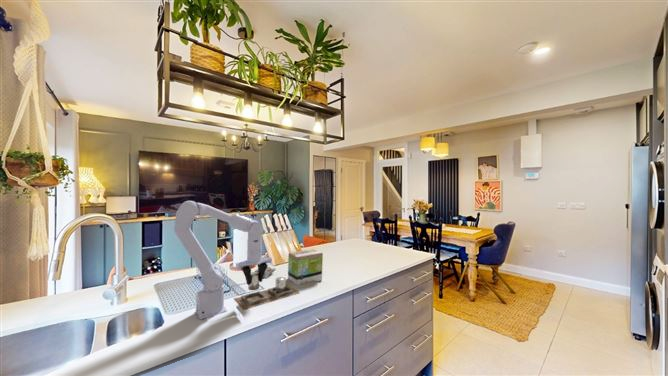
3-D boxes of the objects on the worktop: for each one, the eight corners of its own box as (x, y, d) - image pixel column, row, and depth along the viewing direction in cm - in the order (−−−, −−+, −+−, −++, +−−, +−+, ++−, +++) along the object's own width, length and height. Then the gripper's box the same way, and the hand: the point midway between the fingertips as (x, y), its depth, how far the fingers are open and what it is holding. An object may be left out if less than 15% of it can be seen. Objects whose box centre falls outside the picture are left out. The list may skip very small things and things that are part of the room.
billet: (278, 295, 110) (278, 281, 110) (273, 291, 113) (273, 278, 113) (287, 292, 113) (287, 279, 113) (282, 289, 116) (282, 276, 116)
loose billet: (249, 291, 103) (249, 276, 103) (247, 287, 107) (246, 273, 107) (260, 288, 105) (260, 274, 105) (257, 285, 109) (257, 271, 109)
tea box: (297, 287, 122) (297, 257, 122) (287, 281, 130) (287, 252, 129) (322, 280, 131) (323, 252, 131) (311, 275, 139) (312, 248, 139)
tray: (238, 298, 109) (238, 295, 109) (229, 289, 119) (229, 286, 119) (264, 291, 117) (264, 288, 117) (254, 283, 126) (254, 280, 126)
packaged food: (275, 273, 141) (275, 264, 141) (267, 281, 129) (267, 272, 129) (260, 273, 142) (260, 264, 142) (251, 281, 131) (250, 271, 130)
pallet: (243, 313, 97) (243, 306, 97) (233, 302, 106) (233, 295, 106) (300, 296, 112) (300, 290, 112) (287, 287, 122) (287, 282, 122)
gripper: (240, 255, 98) (239, 290, 98) (275, 249, 107) (274, 281, 107) (234, 251, 103) (234, 284, 103) (267, 246, 112) (267, 276, 112)
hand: (254, 282), depth 105 cm, fingers closed on loose billet, 4 cm apart
